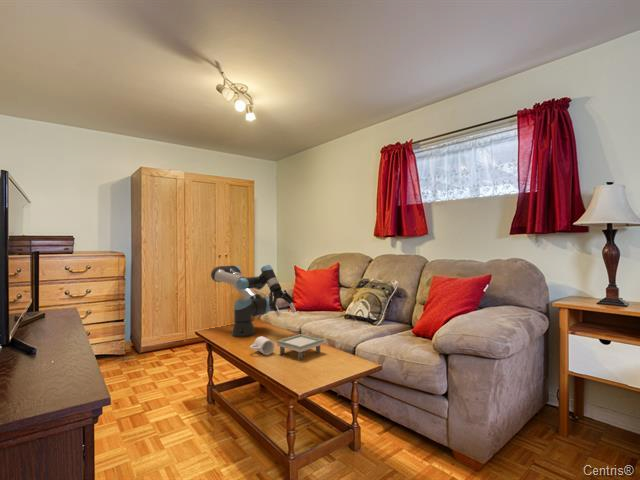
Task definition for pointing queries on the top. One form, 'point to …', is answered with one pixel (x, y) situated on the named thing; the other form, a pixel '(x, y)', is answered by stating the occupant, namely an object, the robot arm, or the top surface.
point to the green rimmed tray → (299, 344)
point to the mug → (263, 345)
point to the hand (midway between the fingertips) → (287, 313)
